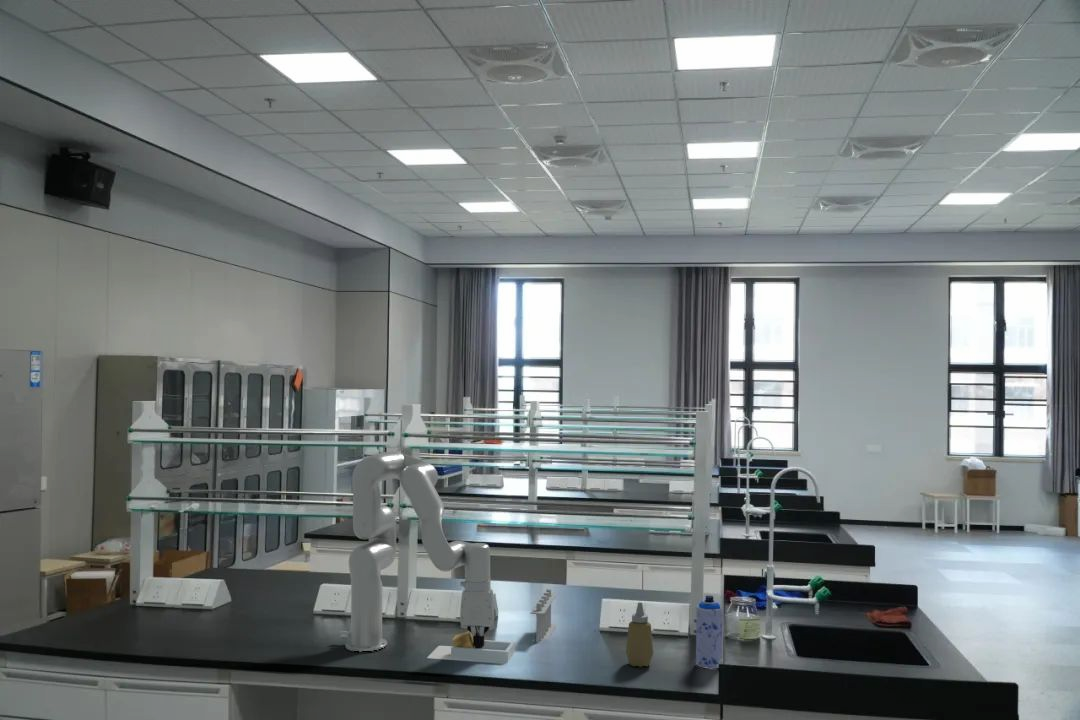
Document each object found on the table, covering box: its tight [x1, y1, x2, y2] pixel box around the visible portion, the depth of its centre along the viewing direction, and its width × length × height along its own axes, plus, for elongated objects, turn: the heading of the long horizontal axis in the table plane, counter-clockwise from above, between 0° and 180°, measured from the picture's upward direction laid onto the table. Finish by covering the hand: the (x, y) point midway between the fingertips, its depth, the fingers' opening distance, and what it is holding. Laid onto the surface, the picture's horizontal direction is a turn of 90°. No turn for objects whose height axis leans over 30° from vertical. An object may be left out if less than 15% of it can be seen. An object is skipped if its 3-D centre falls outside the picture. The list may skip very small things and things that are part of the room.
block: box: [452, 630, 475, 648], centre depth 259 cm, size 5×5×5 cm
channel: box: [426, 639, 516, 665], centre depth 259 cm, size 24×12×4 cm, turn 79°
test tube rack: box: [530, 588, 558, 644], centre depth 283 cm, size 25×4×13 cm, turn 170°
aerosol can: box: [695, 595, 723, 668], centre depth 257 cm, size 8×8×20 cm
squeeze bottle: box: [625, 601, 654, 668], centre depth 256 cm, size 8×8×18 cm
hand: (478, 648), depth 259 cm, fingers closed
